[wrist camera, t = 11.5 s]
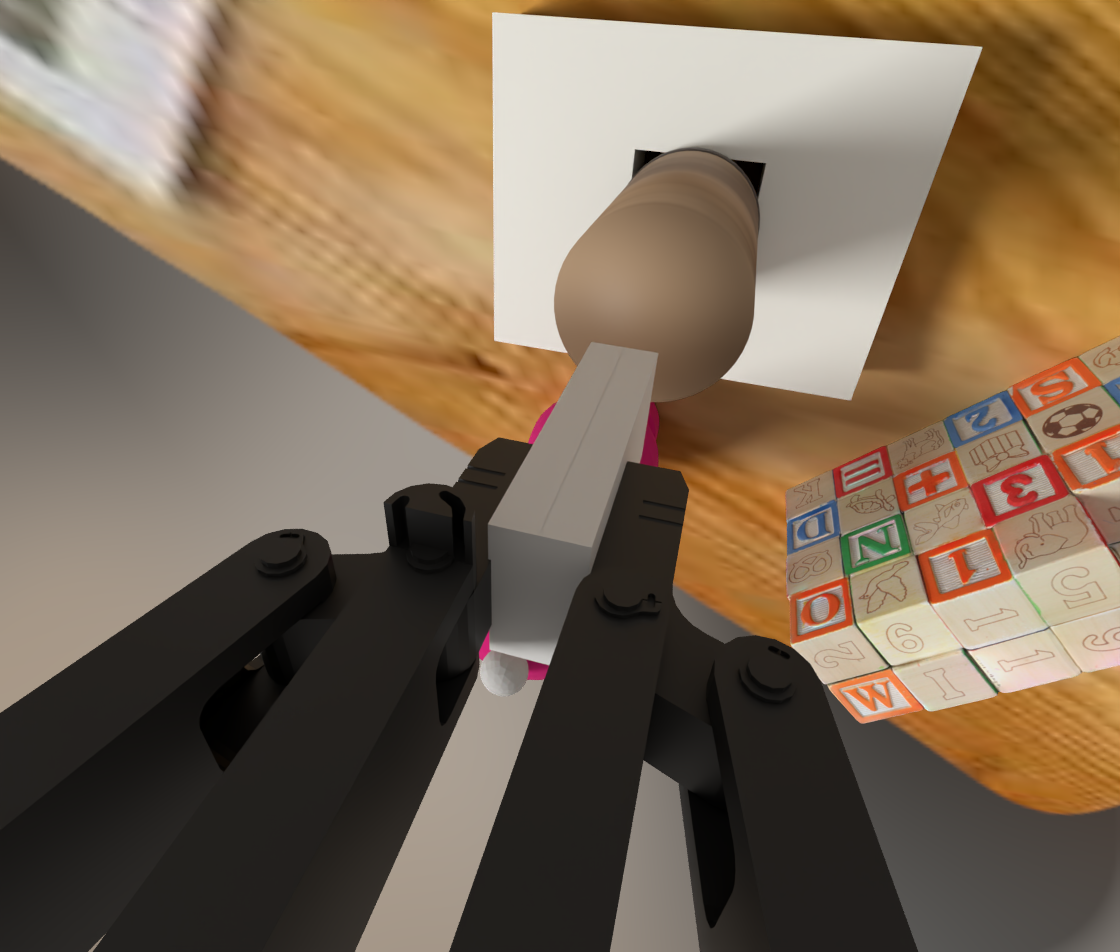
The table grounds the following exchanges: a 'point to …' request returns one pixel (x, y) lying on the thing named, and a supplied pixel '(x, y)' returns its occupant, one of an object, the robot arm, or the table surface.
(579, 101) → the cream board
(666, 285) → the walnut peg
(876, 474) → the stack of blocks
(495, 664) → the pepper mill
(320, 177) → the table surface
